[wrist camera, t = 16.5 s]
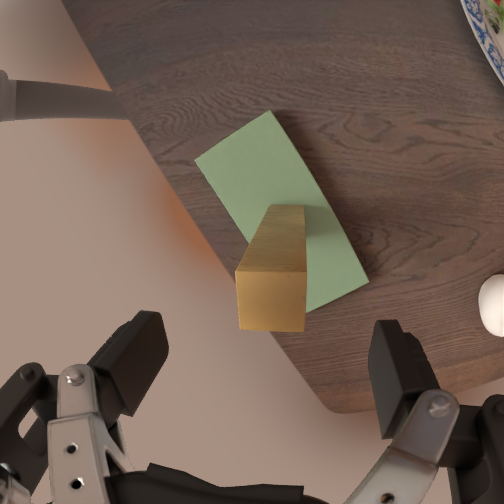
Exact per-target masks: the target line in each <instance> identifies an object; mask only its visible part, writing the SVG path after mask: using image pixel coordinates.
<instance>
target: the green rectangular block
mask: <svg viewBox="0 0 504 504" xmlns="http://www.w3.org/2000/svg"><path fill="white" fill-rule="evenodd" d="M195 162H196V163H197V165H198V166H199V168H200V169H201V171H202V172H203V174H204V175H205V177H206V178H207V180H208V182H209V183H210V185H211V186H212V188H213V189H214V191H215V192H216V194H217V195H218V197H219V198H220V200H221V201H222V203H223V204H224V206H225V207H226V209H227V210H228V212H229V214H230V215H231V217H232V218H233V220H234V221H235V223H236V224H237V226H238V227H239V229H240V230H241V232H242V233H243V235H244V236H245V238H246V239H247V241H248V243H249V244H250V242H251V240H252V238H253V236H254V234H255V232H256V230H257V228H258V226H259V224H260V222H261V221H262V219H263V217H264V215H265V213H266V211H267V209H268V207H269V205H304V213H305V232H306V254H307V294H306V313H308V312H310V311H312V310H314V309H316V308H318V307H320V306H322V305H324V304H327V303H329V302H331V301H333V300H335V299H337V298H339V297H341V296H343V295H345V294H347V293H349V292H351V291H353V290H355V289H357V288H359V287H361V286H363V285H365V284H367V283H368V282H369V280H368V277H367V275H366V273H365V271H364V269H363V267H362V265H361V263H360V261H359V259H358V257H357V255H356V253H355V251H354V249H353V247H352V245H351V243H350V241H349V239H348V238H347V236H346V234H345V232H344V230H343V228H342V226H341V224H340V223H339V221H338V219H337V217H336V215H335V213H334V212H333V210H332V208H331V206H330V205H329V203H328V201H327V199H326V197H325V196H324V194H323V192H322V191H321V189H320V187H319V185H318V184H317V182H316V180H315V179H314V177H313V175H312V174H311V172H310V170H309V169H308V167H307V165H306V164H305V162H304V160H303V159H302V157H301V156H300V154H299V152H298V151H297V149H296V148H295V146H294V145H293V143H292V141H291V140H290V138H289V137H288V135H287V134H286V132H285V131H284V129H283V128H282V126H281V125H280V123H279V122H278V120H277V119H276V117H275V116H274V114H273V113H272V111H271V110H269V111H267V112H266V113H264V114H263V115H261V116H259V117H258V118H256V119H255V120H253V121H251V122H250V123H248V124H247V125H245V126H244V127H242V128H240V129H239V130H237V131H236V132H234V133H233V134H231V135H230V136H228V137H227V138H225V139H224V140H222V141H221V142H220V143H218V144H217V145H215V146H214V147H212V148H211V149H209V150H208V151H207V152H205V153H204V154H202V155H201V156H200V157H198V158H197V159H195Z"/></svg>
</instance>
